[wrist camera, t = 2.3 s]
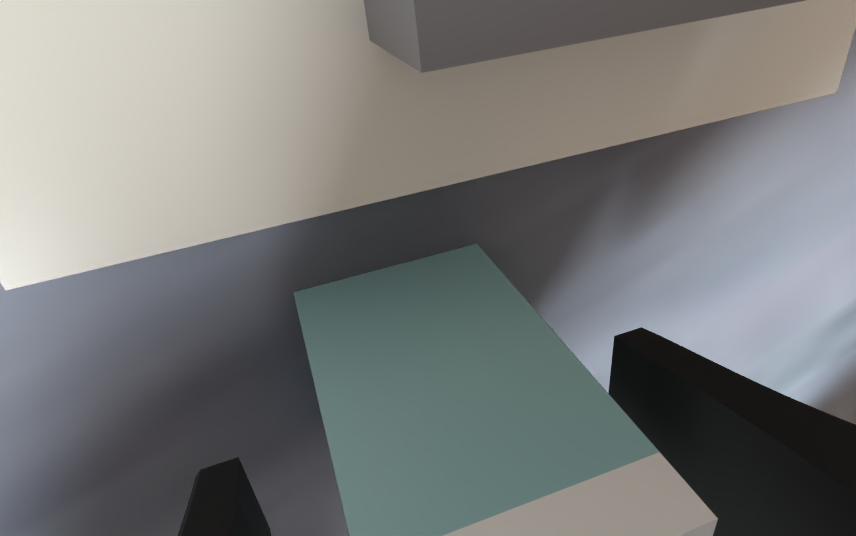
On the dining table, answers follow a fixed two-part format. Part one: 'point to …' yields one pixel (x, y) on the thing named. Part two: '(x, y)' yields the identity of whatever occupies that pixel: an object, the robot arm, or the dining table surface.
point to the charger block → (475, 414)
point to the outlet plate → (349, 104)
